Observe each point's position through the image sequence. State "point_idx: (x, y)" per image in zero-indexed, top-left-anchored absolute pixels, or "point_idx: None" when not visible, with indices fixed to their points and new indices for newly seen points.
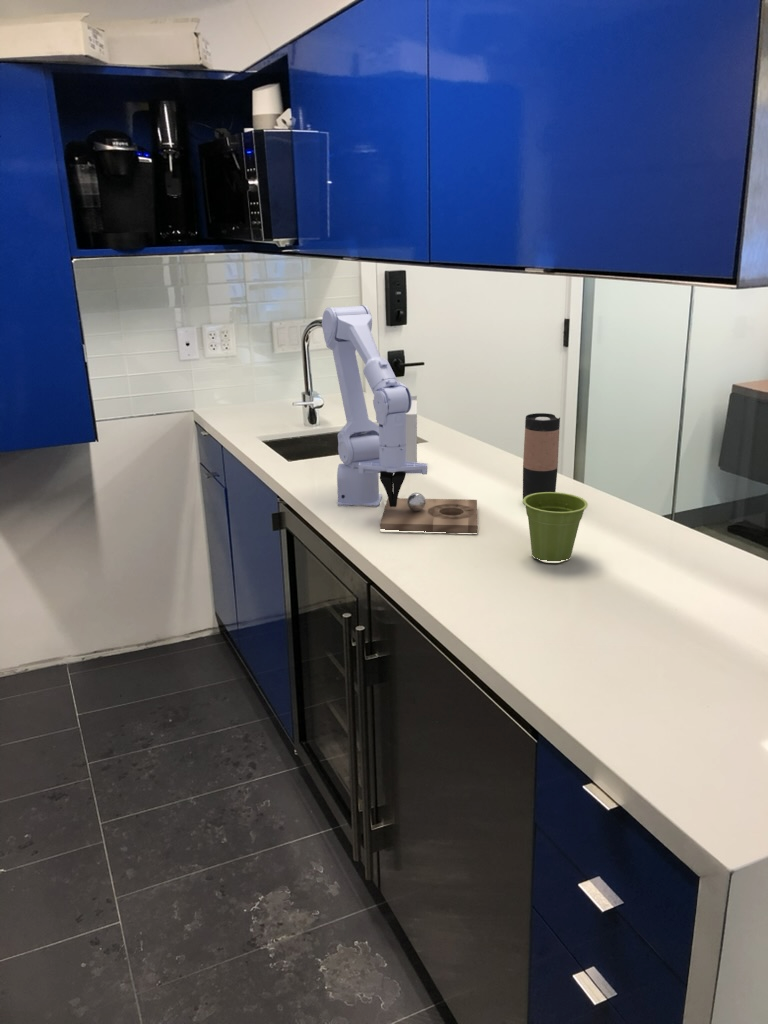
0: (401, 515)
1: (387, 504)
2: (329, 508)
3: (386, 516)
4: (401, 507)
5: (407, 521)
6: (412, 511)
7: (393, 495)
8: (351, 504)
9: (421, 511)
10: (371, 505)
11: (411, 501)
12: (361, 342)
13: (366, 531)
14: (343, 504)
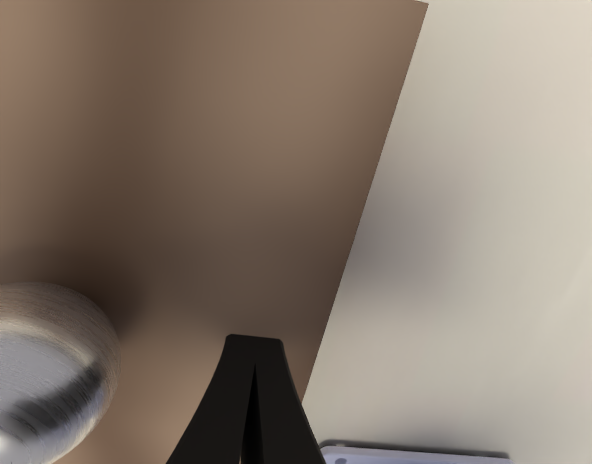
0: (185, 221)
1: None
2: (559, 435)
3: (323, 210)
4: (190, 374)
5: (110, 33)
6: (96, 300)
7: (242, 427)
8: (454, 459)
9: None
10: (357, 449)
11: (43, 348)
12: None
13: (503, 57)
14: (490, 461)
